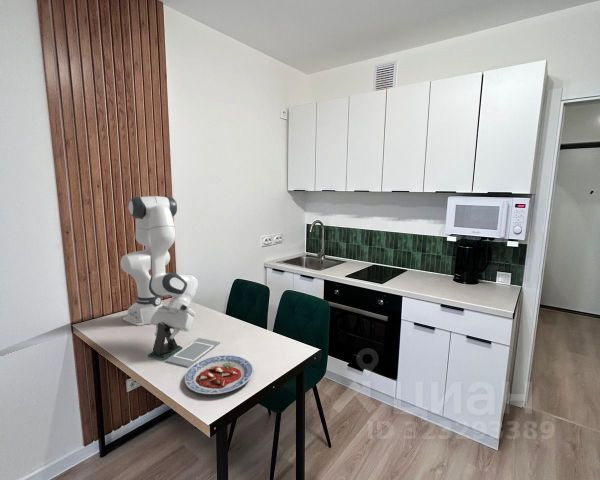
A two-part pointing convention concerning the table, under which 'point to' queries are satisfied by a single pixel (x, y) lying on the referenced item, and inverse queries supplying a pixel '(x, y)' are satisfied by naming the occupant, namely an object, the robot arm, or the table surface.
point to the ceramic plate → (218, 374)
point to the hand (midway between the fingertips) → (163, 337)
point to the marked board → (192, 352)
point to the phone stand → (160, 340)
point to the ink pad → (165, 355)
